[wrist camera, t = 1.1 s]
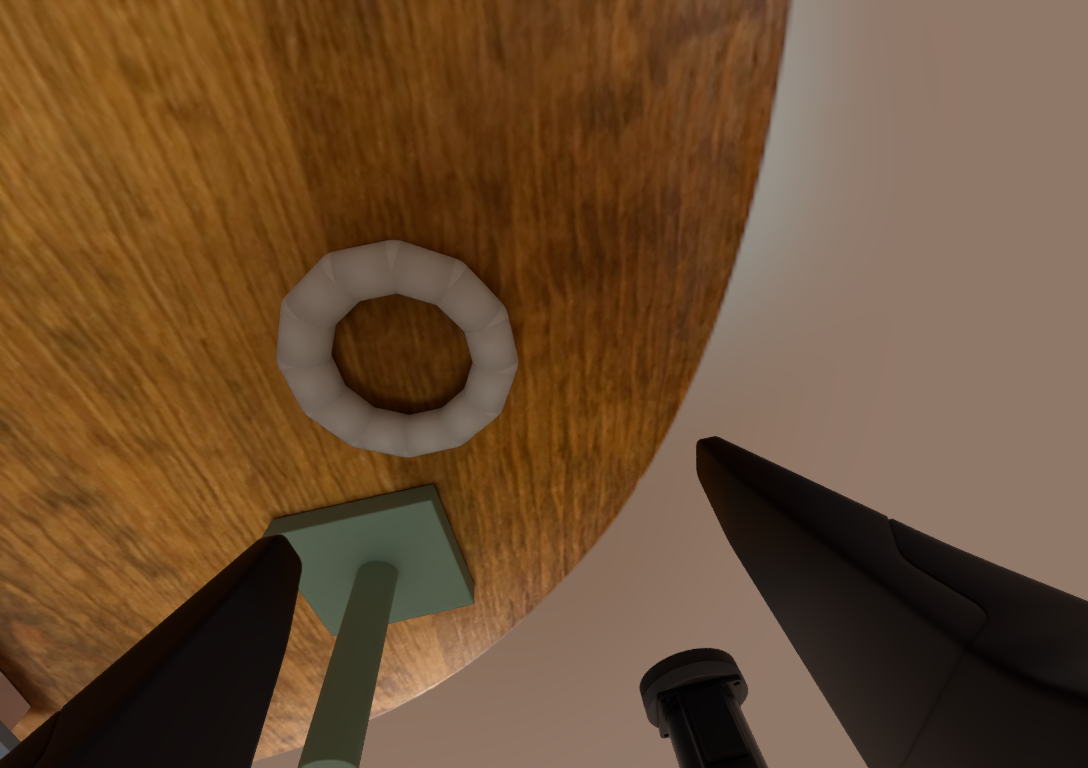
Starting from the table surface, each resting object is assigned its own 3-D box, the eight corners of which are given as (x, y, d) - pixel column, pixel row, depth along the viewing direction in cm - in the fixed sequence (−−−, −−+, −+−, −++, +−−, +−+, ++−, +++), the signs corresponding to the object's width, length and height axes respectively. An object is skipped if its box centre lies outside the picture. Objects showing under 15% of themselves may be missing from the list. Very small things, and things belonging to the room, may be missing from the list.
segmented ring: (531, 415, 20) (535, 438, 18) (343, 456, 20) (331, 483, 18) (486, 216, 15) (486, 223, 14) (245, 266, 15) (217, 279, 14)
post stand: (475, 585, 25) (471, 793, 17) (338, 616, 25) (267, 842, 16) (433, 483, 21) (402, 688, 13) (271, 519, 21) (136, 751, 13)
